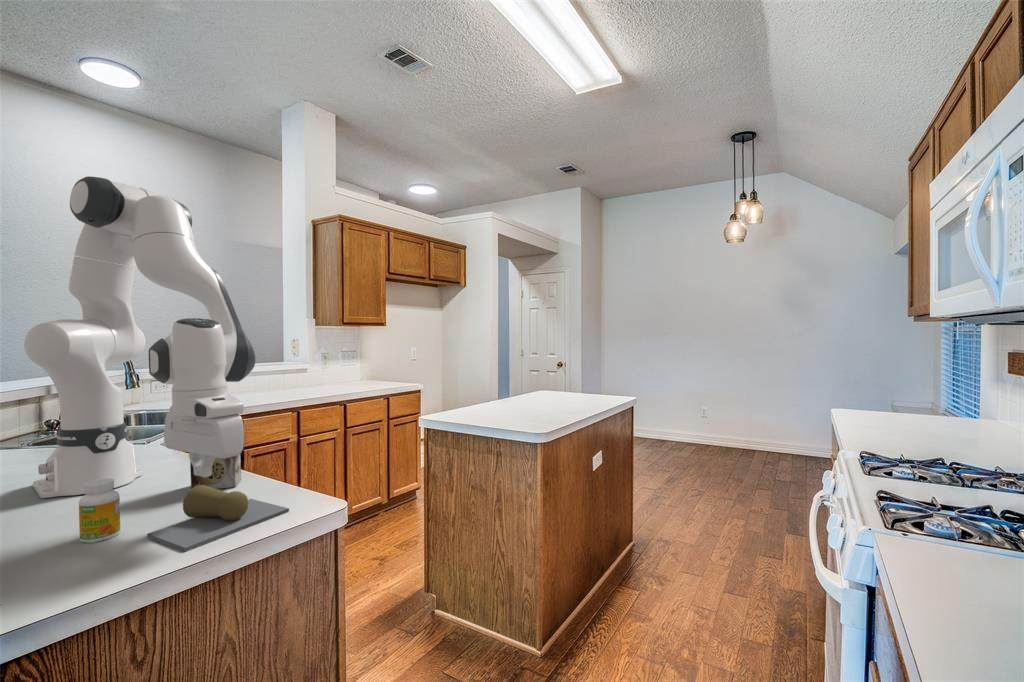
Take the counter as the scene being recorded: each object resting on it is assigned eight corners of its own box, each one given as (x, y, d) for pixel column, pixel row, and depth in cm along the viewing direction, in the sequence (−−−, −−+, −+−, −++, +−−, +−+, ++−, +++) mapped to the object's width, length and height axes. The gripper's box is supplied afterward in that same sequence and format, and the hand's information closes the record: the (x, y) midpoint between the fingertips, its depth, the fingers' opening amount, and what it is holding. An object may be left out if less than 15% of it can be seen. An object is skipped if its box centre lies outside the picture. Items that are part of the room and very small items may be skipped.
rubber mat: (147, 537, 82) (147, 533, 82) (251, 501, 99) (251, 498, 99) (185, 551, 76) (185, 547, 76) (289, 511, 93) (288, 508, 93)
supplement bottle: (74, 546, 79) (73, 488, 79) (85, 534, 84) (84, 480, 83) (115, 539, 81) (114, 483, 81) (124, 528, 86) (122, 475, 86)
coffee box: (242, 479, 114) (240, 413, 114) (235, 487, 108) (234, 417, 108) (198, 483, 111) (197, 415, 111) (189, 492, 105) (187, 420, 105)
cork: (186, 524, 89) (228, 530, 85) (179, 494, 88) (222, 499, 84) (215, 507, 94) (256, 513, 90) (209, 479, 93) (251, 484, 90)
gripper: (153, 402, 91) (155, 473, 92) (214, 409, 82) (217, 488, 82) (187, 398, 97) (189, 465, 97) (249, 404, 87) (251, 477, 88)
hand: (202, 475), depth 90 cm, fingers closed
